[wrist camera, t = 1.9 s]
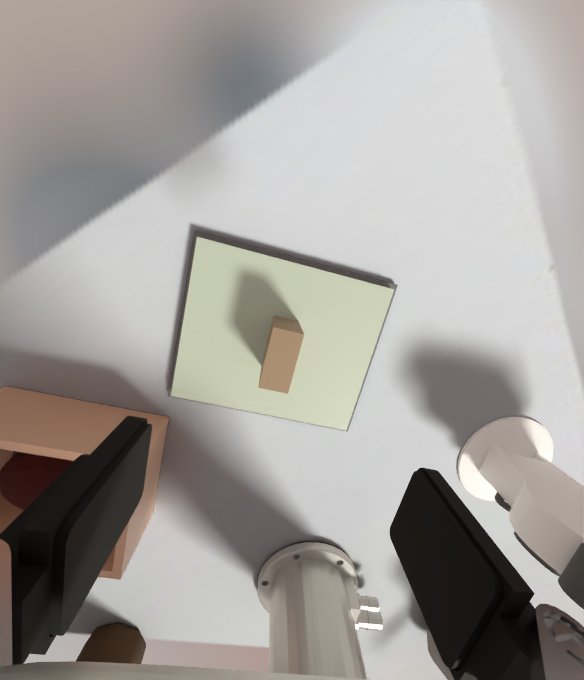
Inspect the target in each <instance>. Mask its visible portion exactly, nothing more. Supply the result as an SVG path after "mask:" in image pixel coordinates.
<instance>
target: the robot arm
mask: <svg viewBox="0 0 584 680" xmlns="http://www.w3.org/2000/svg"><path fill="white" fill-rule="evenodd" d="M147 422H148V421H147V419H146V418H141V417H135V416H127V417H126V418H125V419H124V420H123V421H122V422H121V423H120V424H119V425H118V426H117V427H116V428H115V429H114V430H113V431H112V432H111V433H110V434H109V435H108V436H107V437H106V438H105V439H104V440H103V441H102V443H101V444H100V445H99V446H98V447H97V448H96V449H95V450H94V451H93V452H92V453H91V454H90V455H89V454H82V455H80V456H79V457H78V458H76V459H75V460H74V461H73V462H72V463H71V464H70V465H69V466H68V467H67V468H66V469H65V470H64V471H63V472H62V473H61V474H60V475H59V476H58V477H57V478H56V479H55V480H54V481H53V482H52V483H51V484H50V485H49V486H48V487H47V488H46V489H45V490H44V491H43V492H42V493H41V494H40V495H39V496H38V497H37V498H36V499H35V500H34V501H33V502H32V503H31V504H30V505H29V506H28V507H27V508H26V509H25V510H24V511H23V512H22V513H21V514H20V515H19V516H18V517H17V518H16V519H15V520H14V521H13V522H12V523H11V524H10V525H9V526H8V527H7V528H6V529H5V530H4V531H3V532H2V533H1V534H0V680H368V679H367V674H366V670H365V665H364V661H363V657H362V652H361V648H360V643H359V639H358V634H357V630H358V628H362V629H366V630H372V631H381V630H382V616H381V613H380V611H379V603H378V599H377V598H376V597H371V596H360V595H359V593H356V590H357V586H358V579H357V574H356V570H355V567H354V565H353V562H352V561H351V559H350V558H349V557H348V555H346V554H345V553H344V552H343V551H342V550H340V549H338V548H336V547H334V546H331V545H328V544H324V543H318V542H305V543H299V544H295V545H292V546H288V547H286V548H284V549H282V550H280V551H278V552H277V553H276V554H274V555H273V556H271V557H270V558H269V560H268V561H267V562H266V563H265V564H264V566H263V567H262V569H261V571H260V574H259V577H258V597H259V600H260V602H261V604H262V606H263V607H264V608H265V609H266V610H267V611H268V612H269V613H270V626H269V672H257V671H243V670H228V669H213V668H199V667H183V666H169V665H150V664H128V663H106V662H36V663H27V664H23V663H24V662H25V660H26V659H27V657H28V655H29V654H42V655H44V654H46V652H47V650H48V648H49V647H50V645H51V643H52V642H53V640H54V638H55V637H56V635H60V636H61V635H64V634H65V633H66V631H67V630H68V628H69V627H70V625H71V623H72V621H73V620H74V618H75V616H76V614H77V613H78V611H79V609H80V607H81V605H82V604H83V602H84V600H85V598H86V597H87V595H88V593H89V591H90V589H91V588H92V586H93V584H94V582H95V581H96V579H97V577H98V575H99V573H100V572H101V570H102V568H103V566H104V565H105V563H106V561H107V559H108V557H109V556H110V554H111V552H112V550H113V549H114V547H115V545H116V543H117V541H118V540H119V538H120V536H121V534H122V533H123V531H124V529H125V527H126V525H127V524H128V522H129V520H130V518H131V517H132V515H133V513H134V511H135V509H136V508H137V506H138V504H139V502H140V500H141V497H142V494H143V490H144V483H145V476H146V469H147V462H148V455H149V447H150V440H151V433H152V424H147ZM390 537H391V540H392V543H393V545H394V548H395V550H396V552H397V555H398V557H399V559H400V562H401V564H402V566H403V569H404V571H405V574H406V576H407V578H408V581H409V583H410V585H411V588H412V590H413V593H414V595H415V597H416V600H417V602H418V604H419V607H420V609H421V611H422V614H423V616H424V619H425V621H426V623H427V626H428V628H429V630H430V633H431V635H432V638H433V640H434V642H435V645H436V647H437V649H438V652H439V654H440V656H441V659H442V661H443V663H444V664H445V665H446V666H447V667H448V668H449V669H450V671H451V674H452V676H453V678H454V680H584V627H583V626H582V625H581V624H580V623H579V622H577V621H576V620H575V619H573V618H572V617H571V616H569V615H568V614H567V613H565V612H563V611H562V610H560V609H558V608H556V607H554V606H551V605H548V604H539V605H538V606H537V607H536V608H534V607H533V606H532V604H531V603H530V602H529V601H530V600H531V598H532V597H533V595H534V592H533V591H532V590H531V589H530V587H529V586H528V585H527V583H526V582H525V581H524V580H523V578H522V577H521V576H520V575H519V573H518V572H517V571H516V570H515V568H514V567H513V566H512V564H511V563H510V562H509V561H508V559H507V558H506V557H505V556H504V554H503V553H502V552H501V550H500V549H499V548H498V547H497V545H496V544H495V543H494V542H493V540H492V539H491V538H490V536H489V535H488V534H487V533H486V531H485V530H484V529H483V528H482V526H481V525H480V524H479V522H478V521H477V520H476V519H475V517H474V516H473V515H472V514H471V512H470V511H469V510H468V508H467V507H466V506H465V505H464V503H463V502H462V501H461V500H460V498H459V497H458V496H457V494H456V493H455V492H454V491H453V489H452V488H451V487H450V486H449V484H448V483H447V482H446V480H445V479H444V478H443V477H442V475H441V474H440V473H439V472H438V471H436V470H432V469H426V468H419V469H418V470H417V471H415V472H414V473H413V475H412V477H411V480H410V482H409V485H408V487H407V489H406V492H405V494H404V496H403V499H402V501H401V503H400V506H399V508H398V510H397V513H396V515H395V517H394V520H393V522H392V525H391V527H390Z"/></svg>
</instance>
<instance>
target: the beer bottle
mask: <svg viewBox="0 0 584 680" xmlns="http://www.w3.org/2000/svg"><path fill="white" fill-rule="evenodd" d="M145 648H146V644H145V641H144V639H143V637H142V635H141V633H140V631H139V629H136V628H133V627H130V626H127V625H124V624H121V623H114V624H110V625H105V626H100V627H97V628H96V629H95V630H94V632H93V633H92V635H91V636H90V638H89V639H88V641H87V642H86V644H85V645H84V647H83V649H82V651H81V653H80V655H79V656H78V658H77V660H76V662H106V663H128V664H141V662H142V659H143V655H144V651H145Z"/></svg>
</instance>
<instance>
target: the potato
mask: <svg viewBox="0 0 584 680" xmlns="http://www.w3.org/2000/svg"><path fill="white" fill-rule="evenodd" d="M72 462H73V461H72V460H66V459H60V458H54V457H47V456H41V455H35V454H29V453H23V452H18V453H16V454H15V455H14V456H13V457H12V458H11V459H10V460H9V461H8V462H7V463H6V464H5V465H4V466H3V467H2V469H1V471H0V492H1V494H2V496H3V497H4V498H5V499H6V500H8V501H9V502H10V503H11V504H12V505H14V506H16V507H18V508H20V509H22V510H25V509H26V508H27V507H28V506H29V505H30V504H31V503H32V502H33V501H34V500H35V499H36V498H37V497H38V496H39V495H40V494H41V493H42V492H43V491H44V490H45V489H46V488H47V487H48V486H49V485H50V484H51V483H52V482H53V481H54V480H55V479H56V478H57V477H58V476H59V475H60V474H61V473H62V472H63V471H64V470H65V469H66V468H67V467H68V466H69V465H70V464H71V463H72Z"/></svg>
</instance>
